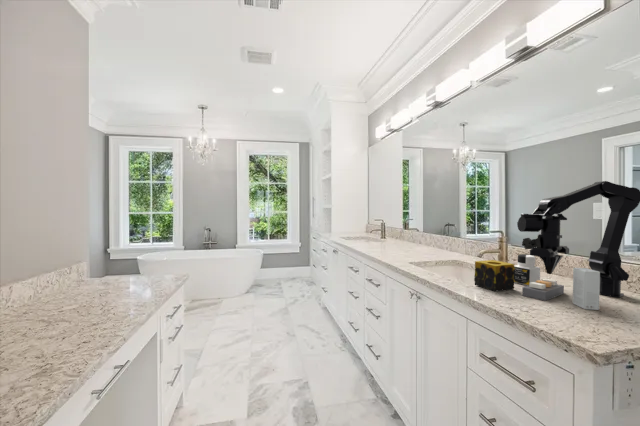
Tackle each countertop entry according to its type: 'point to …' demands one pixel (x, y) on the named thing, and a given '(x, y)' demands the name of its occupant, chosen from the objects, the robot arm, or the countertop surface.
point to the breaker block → (543, 292)
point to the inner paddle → (550, 281)
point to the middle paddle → (548, 284)
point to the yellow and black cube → (494, 275)
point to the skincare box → (586, 288)
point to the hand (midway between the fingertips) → (549, 273)
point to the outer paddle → (537, 285)
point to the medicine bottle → (526, 270)
